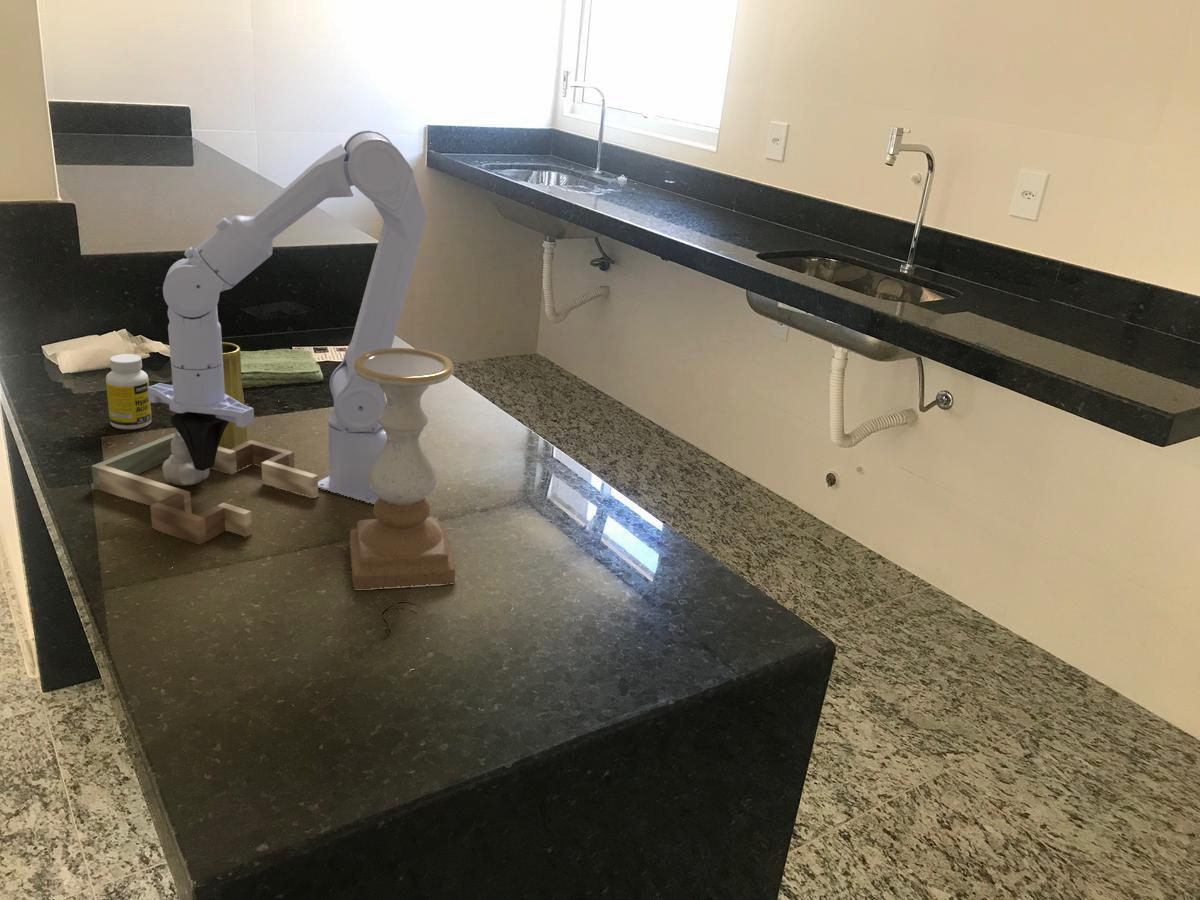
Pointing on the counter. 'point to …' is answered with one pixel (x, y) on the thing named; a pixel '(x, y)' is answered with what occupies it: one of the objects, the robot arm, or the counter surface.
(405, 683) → the counter surface
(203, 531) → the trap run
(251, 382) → the washcloth
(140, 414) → the supplement bottle
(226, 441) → the vase
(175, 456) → the white animal figurine
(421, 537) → the candle holder
